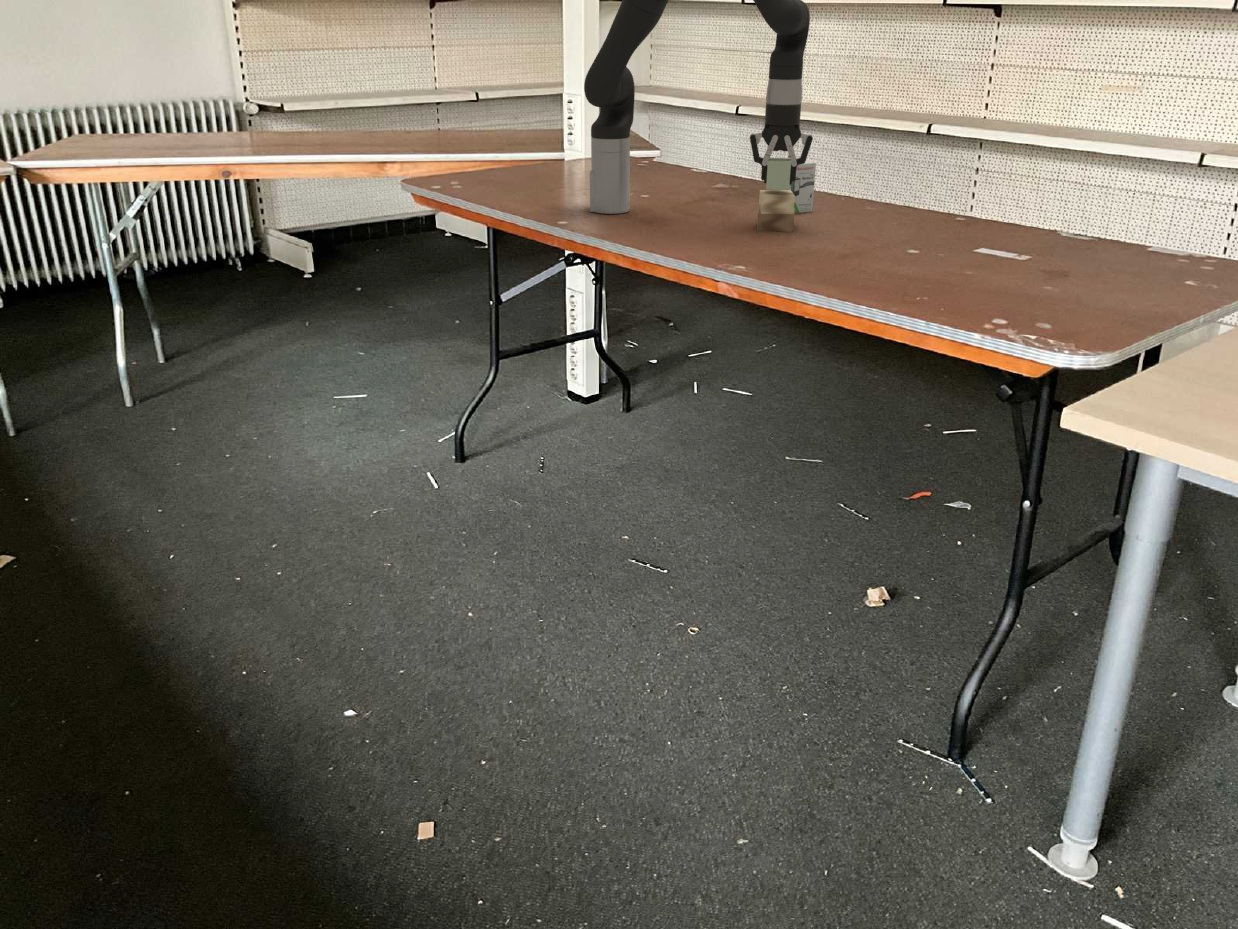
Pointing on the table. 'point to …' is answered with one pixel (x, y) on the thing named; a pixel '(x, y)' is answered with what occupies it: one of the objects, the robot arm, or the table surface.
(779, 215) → the tower base
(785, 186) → the sage block
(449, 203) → the table surface
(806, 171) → the ink box
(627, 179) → the robot arm
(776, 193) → the tower top
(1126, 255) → the table surface
